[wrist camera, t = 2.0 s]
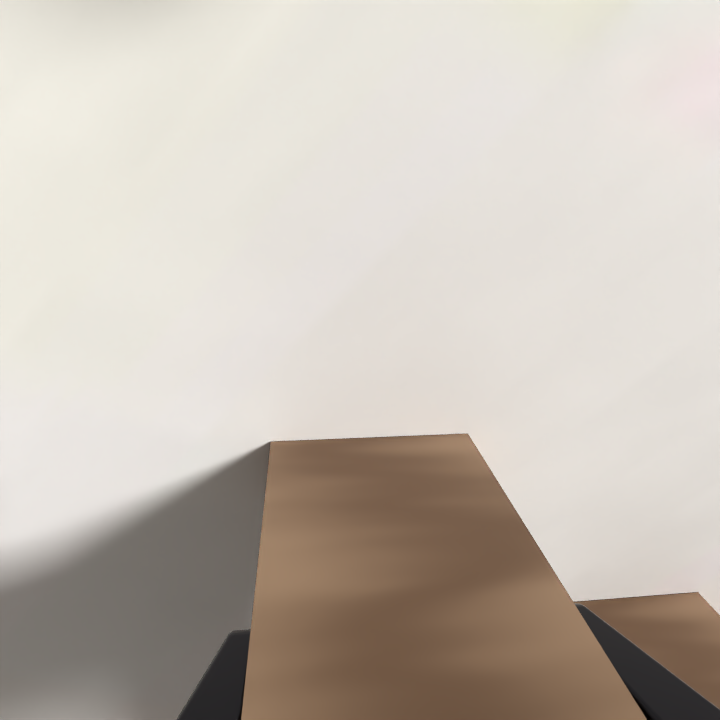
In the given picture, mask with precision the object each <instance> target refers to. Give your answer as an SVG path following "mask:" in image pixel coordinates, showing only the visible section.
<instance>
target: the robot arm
mask: <svg viewBox="0 0 720 720" xmlns="http://www.w3.org/2000/svg"><path fill="white" fill-rule="evenodd" d="M574 604H575V606H576V607H577V609H578V610H579V612H580V614H581V615H582V617H583V618H584V620H585V622H586V623H587V625H588V626H589V628H590V630H591V631H592V633H593V634H594V636H595V638H596V639H597V641H598V642H599V644H600V646H601V647H602V649H603V650H604V652H605V654H606V655H607V657H608V658H609V660H610V662H611V663H612V665H613V666H614V668H615V670H616V671H617V673H618V674H619V676H620V677H621V679H622V681H623V682H624V684H625V685H626V687H627V689H628V690H629V692H630V693H631V695H632V697H633V698H634V700H635V701H636V703H637V705H638V706H639V708H640V709H641V711H642V713H643V714H644V716H645V717H646V719H647V720H720V709H719V708H718V707H716V706H715V705H714V704H712V703H711V702H710V701H708V700H707V699H706V698H704V697H703V696H702V695H701V694H699V693H698V692H697V691H695V690H694V689H693V688H691V687H690V686H689V685H687V684H686V683H685V682H684V681H682V680H681V679H680V678H678V677H677V676H676V675H674V674H673V673H672V672H670V671H669V670H668V669H667V668H665V667H664V666H663V665H661V664H660V663H659V662H657V661H656V660H655V659H653V658H652V657H651V656H650V655H648V654H647V653H646V652H644V651H643V650H642V649H640V648H639V647H638V646H636V645H635V644H634V643H632V642H631V641H630V640H629V639H627V638H626V637H625V636H623V635H622V634H621V633H619V632H618V631H617V630H615V629H614V628H613V627H612V626H610V625H609V624H608V623H606V622H605V621H604V620H602V619H601V618H600V617H598V616H597V615H596V614H595V613H593V612H592V611H591V610H589V609H588V608H587V607H585V606H584V605H582V604H579V603H574ZM250 632H251V629H248V630H235V631H232V632H231V633H230V634H229V635H228V636H227V638H226V639H225V641H224V643H223V644H222V646H221V648H220V649H219V651H218V653H217V654H216V656H215V658H214V659H213V661H212V662H211V664H210V666H209V667H208V669H207V671H206V672H205V674H204V676H203V677H202V679H201V681H200V682H199V684H198V685H197V687H196V689H195V690H194V692H193V694H192V695H191V697H190V699H189V700H188V702H187V704H186V705H185V707H184V708H183V710H182V712H181V713H180V715H179V717H178V718H177V720H241V716H242V707H243V698H244V688H245V679H246V669H247V660H248V651H249V641H250Z"/></svg>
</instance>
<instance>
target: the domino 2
mask: <svg viewBox="0 0 720 720" xmlns="http://www.w3.org/2000/svg"><path fill="white" fill-rule="evenodd" d="M574 603H579V604H582V605H584V606H585V607H587V608H588V609H589V610H591V611H592V612H593V613H595V614H596V615H597V616H598V617H600V618H601V619H602V620H604V621H605V622H606V623H608V624H609V625H610V626H612V627H613V628H614V629H615V630H617V631H618V632H619V633H621V634H622V635H623V636H625V637H626V638H627V639H629V640H630V641H631V642H632V643H634V644H635V645H636V646H638V647H639V648H640V649H642V650H643V651H644V652H646V653H647V654H648V655H650V656H651V657H652V658H653V659H655V660H656V661H657V662H659V663H660V664H661V665H663V666H664V667H665V668H667V669H668V670H669V671H670V672H672V673H673V674H674V675H676V676H677V677H678V678H680V679H681V680H682V681H684V682H685V683H686V684H687V685H689V686H690V687H691V688H693V689H694V690H695V691H697V692H698V693H699V694H701V695H702V696H703V697H704V698H706V699H707V700H708V701H710V702H711V703H712V704H714V705H715V706H716V707H718V708H719V709H720V615H719V614H718V613H717V612H716V611H715V610H714V609H713V608H712V607H711V606H710V605H709V604H708V603H707V601H706V600H705V599H704V598H703V597H702V596H701V595H700V594H699V593H698V592H696V593H683V594H670V595H658V596H645V597H632V598H619V599H607V600H594V601H581V602H574Z"/></svg>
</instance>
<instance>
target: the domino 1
mask: <svg viewBox="0 0 720 720" xmlns="http://www.w3.org/2000/svg"><path fill="white" fill-rule="evenodd" d="M241 720H647V719H646V717H645V716H644V714H643V713H642V711H641V709H640V708H639V706H638V705H637V703H636V701H635V700H634V698H633V697H632V695H631V693H630V692H629V690H628V689H627V687H626V685H625V684H624V682H623V681H622V679H621V677H620V676H619V674H618V673H617V671H616V670H615V668H614V666H613V665H612V663H611V662H610V660H609V658H608V657H607V655H606V654H605V652H604V650H603V649H602V647H601V646H600V644H599V642H598V641H597V639H596V638H595V636H594V634H593V633H592V631H591V630H590V628H589V626H588V625H587V623H586V622H585V620H584V618H583V617H582V615H581V614H580V612H579V610H578V609H577V607H576V606H575V604H574V602H573V601H572V599H571V598H570V596H569V594H568V593H567V591H566V590H565V588H564V587H563V585H562V583H561V582H560V580H559V579H558V577H557V575H556V574H555V572H554V571H553V569H552V567H551V566H550V564H549V563H548V561H547V559H546V558H545V556H544V555H543V553H542V551H541V550H540V548H539V547H538V545H537V543H536V542H535V540H534V539H533V537H532V535H531V534H530V532H529V531H528V529H527V527H526V526H525V524H524V523H523V521H522V519H521V518H520V516H519V515H518V513H517V511H516V510H515V508H514V507H513V505H512V504H511V502H510V500H509V499H508V497H507V496H506V494H505V492H504V491H503V489H502V488H501V486H500V484H499V483H498V481H497V480H496V478H495V476H494V475H493V473H492V472H491V470H490V468H489V467H488V465H487V464H486V462H485V460H484V459H483V457H482V456H481V454H480V452H479V451H478V449H477V448H476V446H475V444H474V443H473V441H472V440H471V438H470V436H469V435H468V434H448V435H423V436H399V437H374V438H349V439H325V440H300V441H276V442H271V444H270V454H269V463H268V472H267V482H266V491H265V500H264V510H263V519H262V529H261V538H260V547H259V557H258V566H257V576H256V585H255V594H254V604H253V613H252V623H251V632H250V641H249V651H248V660H247V669H246V679H245V688H244V698H243V707H242V716H241Z"/></svg>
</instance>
